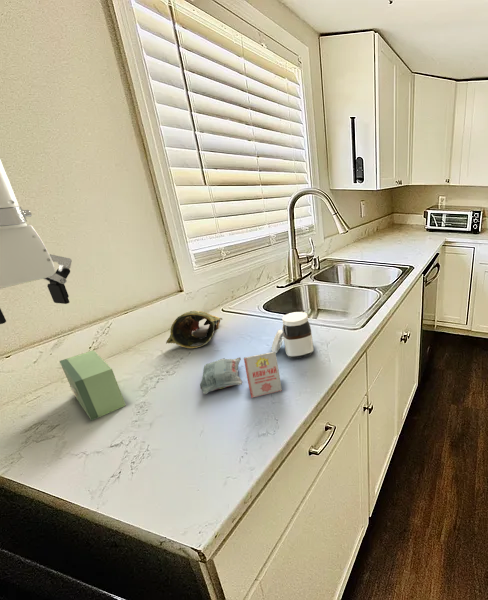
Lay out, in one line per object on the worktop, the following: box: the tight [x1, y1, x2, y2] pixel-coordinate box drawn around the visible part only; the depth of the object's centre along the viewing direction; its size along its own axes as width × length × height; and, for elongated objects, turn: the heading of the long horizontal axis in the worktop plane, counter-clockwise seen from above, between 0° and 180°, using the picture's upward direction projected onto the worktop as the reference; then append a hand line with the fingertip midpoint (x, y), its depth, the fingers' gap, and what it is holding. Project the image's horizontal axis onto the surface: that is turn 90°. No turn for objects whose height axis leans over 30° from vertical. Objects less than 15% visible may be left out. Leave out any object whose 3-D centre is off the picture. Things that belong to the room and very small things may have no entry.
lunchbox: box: [59, 349, 127, 422], centre depth 73 cm, size 6×14×10 cm, turn 54°
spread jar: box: [270, 311, 314, 360], centre depth 93 cm, size 12×11×12 cm
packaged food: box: [199, 357, 243, 395], centre depth 81 cm, size 9×12×5 cm
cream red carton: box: [243, 351, 283, 399], centre depth 77 cm, size 4×7×10 cm, turn 113°
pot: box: [165, 310, 223, 349], centre depth 103 cm, size 17×11×18 cm
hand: (32, 312), depth 61 cm, fingers open, 9 cm apart
